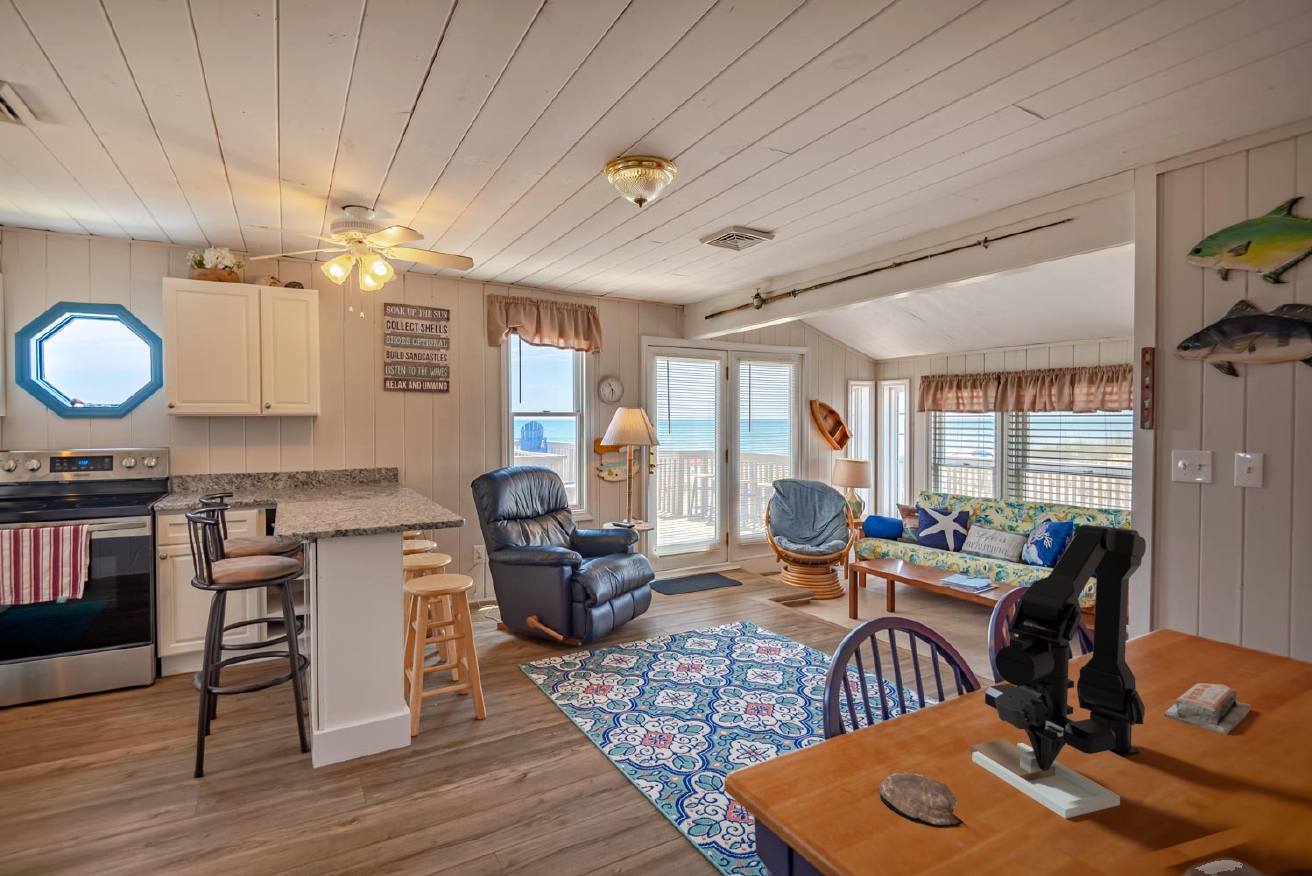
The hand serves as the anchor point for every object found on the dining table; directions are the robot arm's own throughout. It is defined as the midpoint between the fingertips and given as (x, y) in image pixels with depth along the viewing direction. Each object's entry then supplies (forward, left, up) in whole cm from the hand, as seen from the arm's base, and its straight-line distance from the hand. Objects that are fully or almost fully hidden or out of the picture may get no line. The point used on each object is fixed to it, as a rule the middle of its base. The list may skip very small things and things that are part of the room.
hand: (1044, 769), depth 104 cm
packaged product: (-57, -11, -4) cm, 58 cm away
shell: (+20, -4, -4) cm, 21 cm away
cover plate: (0, -6, -2) cm, 6 cm away
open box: (0, 0, -4) cm, 4 cm away
